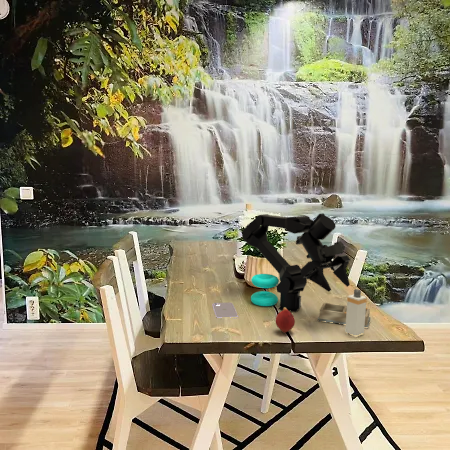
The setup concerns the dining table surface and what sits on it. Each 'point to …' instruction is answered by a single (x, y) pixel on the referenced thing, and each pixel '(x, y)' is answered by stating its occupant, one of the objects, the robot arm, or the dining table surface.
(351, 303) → the bottle
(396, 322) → the dining table surface
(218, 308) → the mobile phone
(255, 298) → the donuts
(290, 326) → the onion
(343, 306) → the rack
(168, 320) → the dining table surface
